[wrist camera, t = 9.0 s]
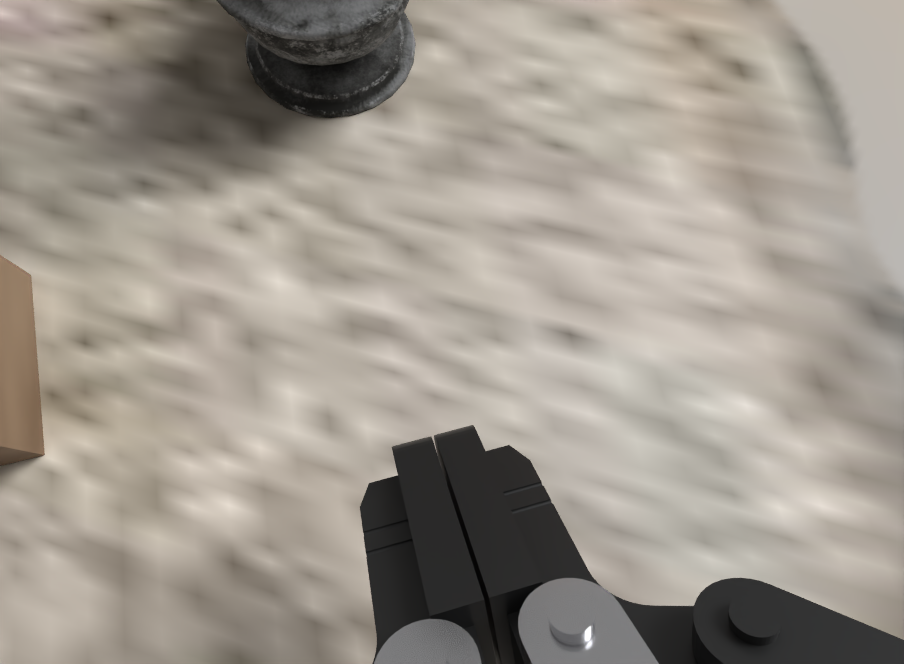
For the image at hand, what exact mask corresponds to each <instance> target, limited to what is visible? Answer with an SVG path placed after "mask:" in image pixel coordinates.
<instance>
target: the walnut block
mask: <svg viewBox="0 0 904 664" xmlns="http://www.w3.org/2000/svg"><path fill="white" fill-rule="evenodd" d="M43 455H45V453H44V440H43V427H42V414H41V400H40V387H39V374H38V361H37V348H36V334H35V321H34V308H33V295H32V282H31V275H30V274H28V273H27V272H25V271H24V270H22V269H21V268H19V267H18V266H16V265H15V264H13V263H12V262H10V261H9V260H7V259H5V258H4V257H2V256H1V255H0V466H2V465H6V464H10V463H14V462H18V461H22V460H26V459H30V458H34V457H39V456H43Z"/></svg>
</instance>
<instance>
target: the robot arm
mask: <svg viewBox="0 0 904 664" xmlns="http://www.w3.org/2000/svg"><path fill="white" fill-rule="evenodd" d="M434 439H435V445H436V449H437V452H436V449H435V446H434V443H433V440H432V437H431V436H430V437H427V438H423V439H419V440H415V441H412V442H408V443H404V444H400V445H396V446H393V447H392V450H393V455H394V459H395V463H396V468H397V472H398V476H394V477H390V478H387V479H383V480H379V481H376V482H372V483H369V485H368V488H367V490H366V493H365V495H364V498H363V501H362V503H361V506H360V511H361V519H362V527H363V533H364V542H365V549H366V554H367V564H368V572H369V580H370V587H371V595H372V602H373V610H374V618H375V625H376V633H377V648H376V654H375V658H374V661H373V664H904V640H902V639H900V638H898V637H895V636H893V635H890V634H888V633H886V632H883V631H881V630H878V629H876V628H873V627H871V626H869V625H866V624H864V623H861V622H859V621H857V620H854V619H852V618H849V617H847V616H845V615H842V614H840V613H837V612H835V611H833V610H830V609H828V608H825V607H823V606H821V605H818V604H816V603H813V602H811V601H809V600H806V599H804V598H801V597H799V596H797V595H794V594H792V593H789V592H787V591H785V590H782V589H780V588H777V587H775V586H772V585H770V584H767V583H764V582H761V581H758V580H753V579H746V578H730V579H724V580H720V581H718V582H715V583H713V584H711V585H710V586H708V587H706V588H705V589H704V590H703V591H702V592H701V593H700V595H699V596H698V598H697V600H696V602H695V605H694V606H649V605H641V604H636V603H632V602H629V601H626V600H623V599H621V598H619V597H616V596H614V595H613V594H611V593H610V592H608V591H607V590H606V589H604V588H603V587H602V586H600V585H599V584H598V583H597V582H596V580H595V579H594V578H593V577H592V575H591V574H590V572H589V571H588V569H587V567H586V565H585V563H584V561H583V560H582V558H581V556H580V554H579V552H578V550H577V548H576V546H575V544H574V543H573V541H572V539H571V537H570V535H569V533H568V531H567V529H566V527H565V526H564V524H563V522H562V520H561V518H560V516H559V514H558V512H557V510H556V509H555V507H554V505H553V504H552V503H551V499H550V497H549V495H548V493H547V492H546V490H545V488H544V486H542V483H541V480H540V478H539V476H538V475H537V473H536V471H535V469H534V467H533V465H532V463H531V461H530V460H529V459H527V458H526V457H525V456H523V455H522V454H521V453H519V452H518V451H517V450H515V449H514V448H512V447H511V446H510V445H508V446H504V447H500V448H497V449H493V450H489V451H486V452H485V450H484V447H483V445H482V443H481V440H480V438H479V436H478V434H477V431H476V429H475V427H474V426H473V425H471V426H467V427H464V428H460V429H456V430H452V431H449V432H445V433H441V434H437V435H434ZM437 454H438V455H437Z"/></svg>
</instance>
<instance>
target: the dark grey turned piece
mask: <svg viewBox="0 0 904 664" xmlns="http://www.w3.org/2000/svg"><path fill="white" fill-rule="evenodd" d="M217 1H218V2H219V4H220V5H221V6H222V7H223V8H224V9H225V10H226V11H227V12H228V13H229V14H230V15H232V16H233V17H234V18H235V19H236V20H237V21H238V22H239V23H240V24H241V26H242V27H243V28H244V29H245V30H246V31H247V32H248V35H247V39H246V44H245V45H246V55H247V63H248V65H249V68H250V70H251V72H252V74H253V76H254V79H255V81H256V83H257V84H258V85H259V86H260V87H261V88H262V89H263V90H264V92H265V93H266V94H267V95H268V96H269V97H270V98H272V99H273V100H275V101H276V102H278V103H280V104H281V105H283V106H284V107H286V108H288V109H290V110H293V111H296V112H299V113H302V114H305V115H309V116H319V117H329V118H332V117H340V116H348V115H355V114H357V113H360V112H363V111H366V110H368V109H371V108H374V107H376V106H377V105H379V104H380V103H382V102H383V101H385V100H386V99H388V98H389V97H391V96H392V95H393V94H394V93H395V92H396V91H397V89H398V88H399V87H400V86H401V85H402V84H403V83H404V82H405V80H406V78H407V76H408V74H409V72H410V69H411V67H412V65H413V61H414V53H415V39H414V34H413V29H412V25H411V23H410V22H409V20H408V18H407V16H406V14H405V13H404V10H405V8H406V6H407V4H408V2H409V0H217Z"/></svg>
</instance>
